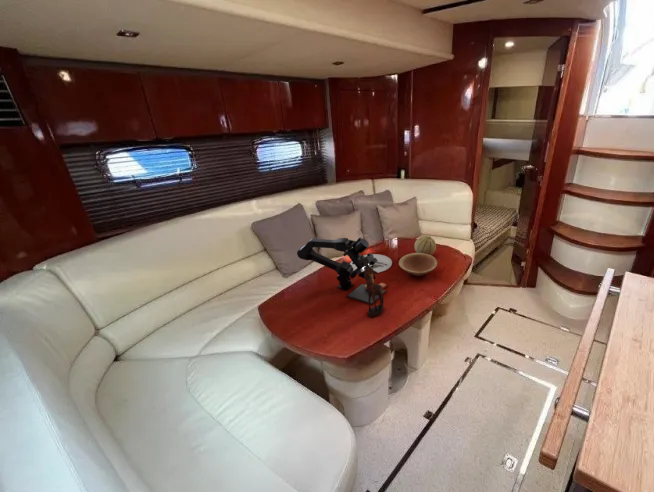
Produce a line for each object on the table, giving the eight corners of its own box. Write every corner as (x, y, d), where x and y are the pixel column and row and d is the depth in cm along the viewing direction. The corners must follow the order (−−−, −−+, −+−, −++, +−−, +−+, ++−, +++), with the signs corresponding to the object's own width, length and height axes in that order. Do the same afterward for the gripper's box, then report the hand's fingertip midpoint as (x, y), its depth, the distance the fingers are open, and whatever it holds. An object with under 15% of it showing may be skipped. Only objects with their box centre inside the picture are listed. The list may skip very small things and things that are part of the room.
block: (377, 286, 176) (376, 285, 176) (381, 284, 179) (381, 282, 178) (381, 289, 174) (381, 287, 173) (386, 286, 176) (386, 284, 176)
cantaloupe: (413, 252, 217) (413, 232, 210) (433, 250, 218) (433, 231, 211) (416, 261, 204) (416, 240, 197) (437, 259, 205) (438, 239, 198)
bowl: (393, 277, 185) (393, 266, 181) (407, 261, 204) (407, 250, 201) (430, 284, 177) (430, 272, 173) (441, 266, 196) (441, 255, 193)
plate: (400, 260, 206) (400, 258, 205) (375, 278, 185) (375, 276, 185) (367, 251, 219) (367, 250, 219) (341, 267, 199) (341, 265, 198)
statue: (372, 321, 148) (367, 267, 134) (362, 315, 152) (357, 262, 138) (388, 310, 156) (385, 258, 142) (378, 305, 160) (375, 254, 146)
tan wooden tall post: (364, 289, 172) (361, 267, 163) (369, 286, 174) (366, 264, 166) (375, 294, 167) (372, 272, 159) (380, 290, 170) (377, 268, 162)
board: (347, 296, 168) (347, 295, 167) (362, 285, 178) (362, 283, 178) (371, 304, 161) (371, 303, 160) (385, 291, 171) (385, 290, 171)
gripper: (351, 257, 154) (370, 281, 153) (374, 244, 167) (391, 266, 167) (341, 267, 161) (359, 290, 161) (364, 253, 175) (380, 275, 175)
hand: (373, 280), depth 166 cm, fingers closed on tan wooden tall post, 3 cm apart
